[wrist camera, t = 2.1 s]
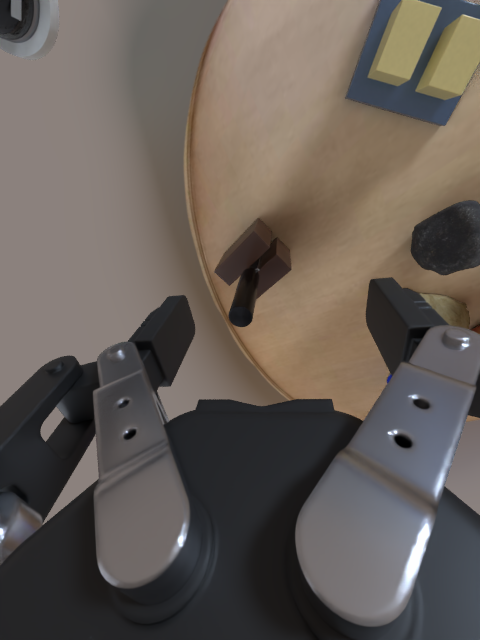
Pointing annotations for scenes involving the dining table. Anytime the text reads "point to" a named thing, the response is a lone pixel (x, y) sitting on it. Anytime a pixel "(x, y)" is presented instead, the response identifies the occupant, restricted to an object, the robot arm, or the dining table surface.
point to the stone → (449, 239)
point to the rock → (449, 309)
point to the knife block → (255, 257)
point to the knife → (245, 296)
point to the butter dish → (405, 95)
